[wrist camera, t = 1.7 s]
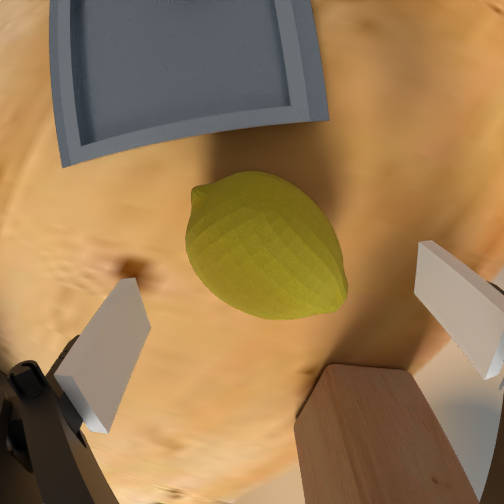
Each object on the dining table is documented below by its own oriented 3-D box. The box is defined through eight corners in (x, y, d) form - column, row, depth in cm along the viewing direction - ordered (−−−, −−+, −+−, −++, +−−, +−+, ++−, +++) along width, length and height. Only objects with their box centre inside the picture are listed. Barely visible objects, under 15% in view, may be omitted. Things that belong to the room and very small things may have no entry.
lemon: (167, 211, 21) (131, 254, 14) (250, 132, 20) (255, 132, 12) (270, 310, 25) (281, 382, 17) (349, 246, 23) (394, 300, 15)
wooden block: (411, 366, 28) (496, 526, 9) (368, 427, 31) (414, 571, 13) (325, 357, 27) (389, 573, 8) (289, 424, 30) (313, 596, 11)
